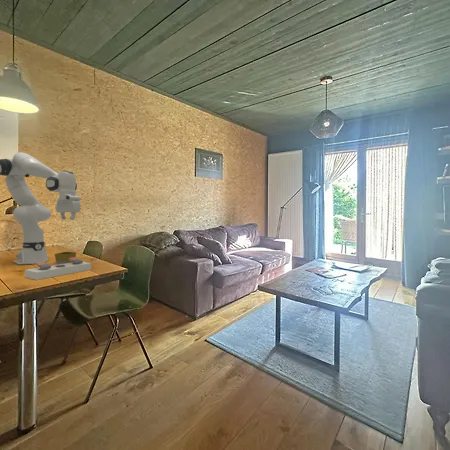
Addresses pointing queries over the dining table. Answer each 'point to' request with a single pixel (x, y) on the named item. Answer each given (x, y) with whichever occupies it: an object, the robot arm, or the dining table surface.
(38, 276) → the power strip
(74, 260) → the rocker far
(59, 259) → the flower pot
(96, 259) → the dining table surface
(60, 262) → the rocker middle
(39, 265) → the rocker near
